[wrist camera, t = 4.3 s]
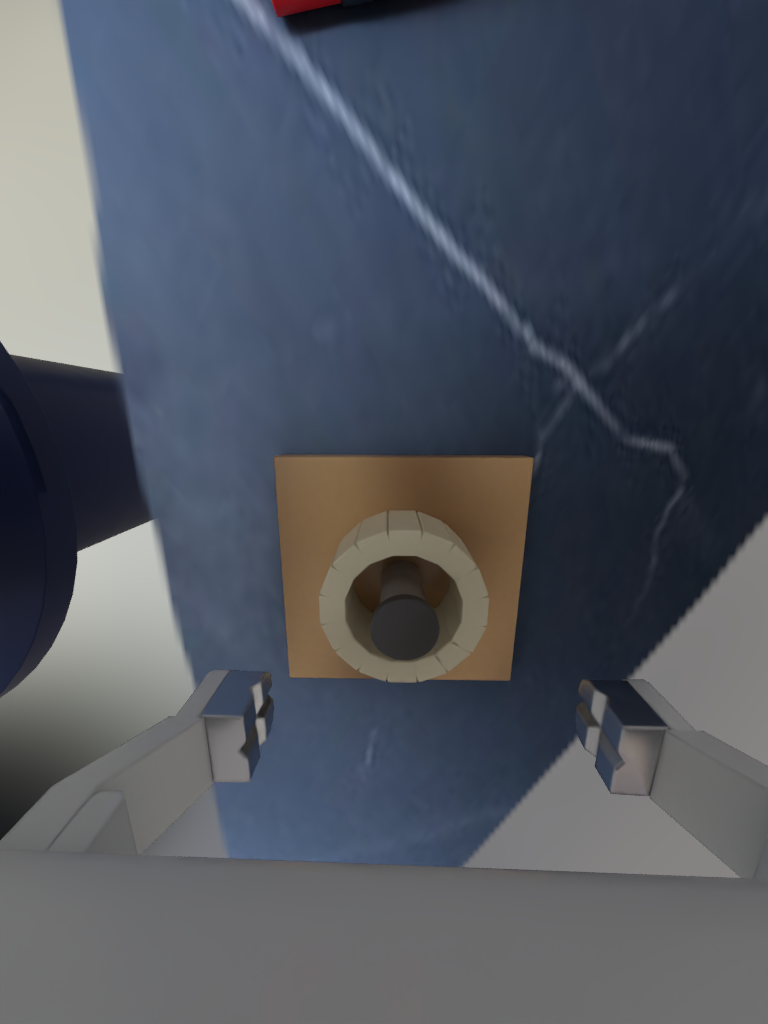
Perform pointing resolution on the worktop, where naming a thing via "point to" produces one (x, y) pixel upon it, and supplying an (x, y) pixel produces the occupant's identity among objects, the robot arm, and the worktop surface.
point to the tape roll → (456, 613)
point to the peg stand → (401, 579)
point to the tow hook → (308, 5)
